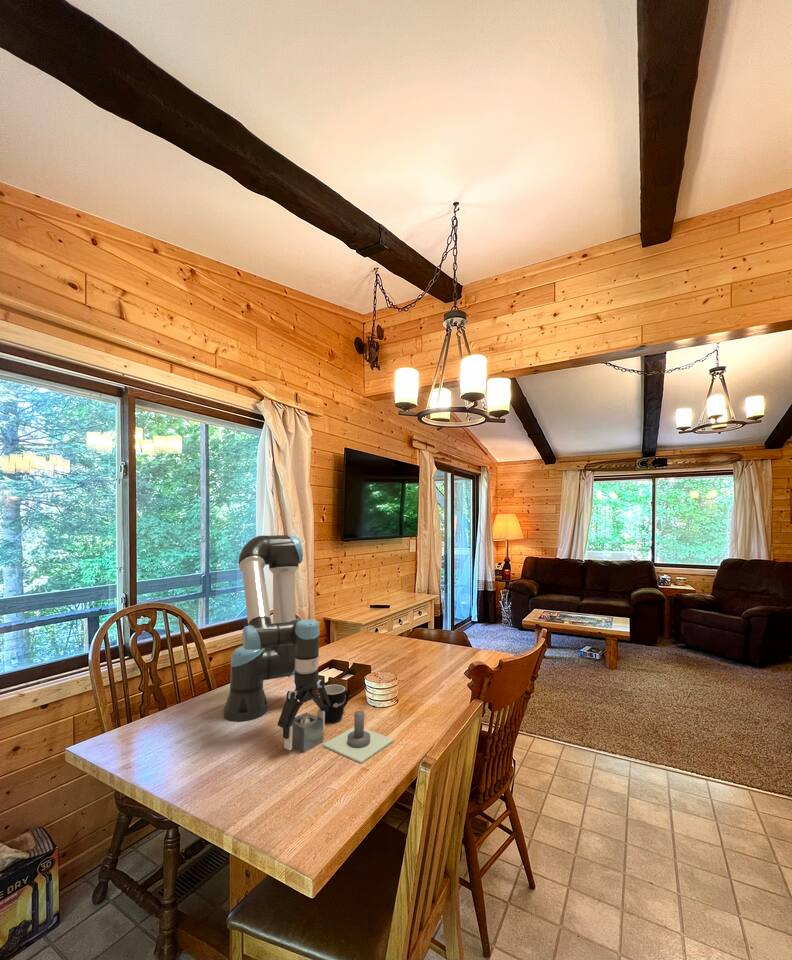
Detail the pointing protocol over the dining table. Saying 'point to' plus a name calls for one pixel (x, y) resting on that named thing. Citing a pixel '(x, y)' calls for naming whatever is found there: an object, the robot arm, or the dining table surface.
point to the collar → (307, 732)
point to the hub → (358, 741)
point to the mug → (336, 702)
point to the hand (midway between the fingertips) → (304, 739)
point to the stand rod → (305, 720)
